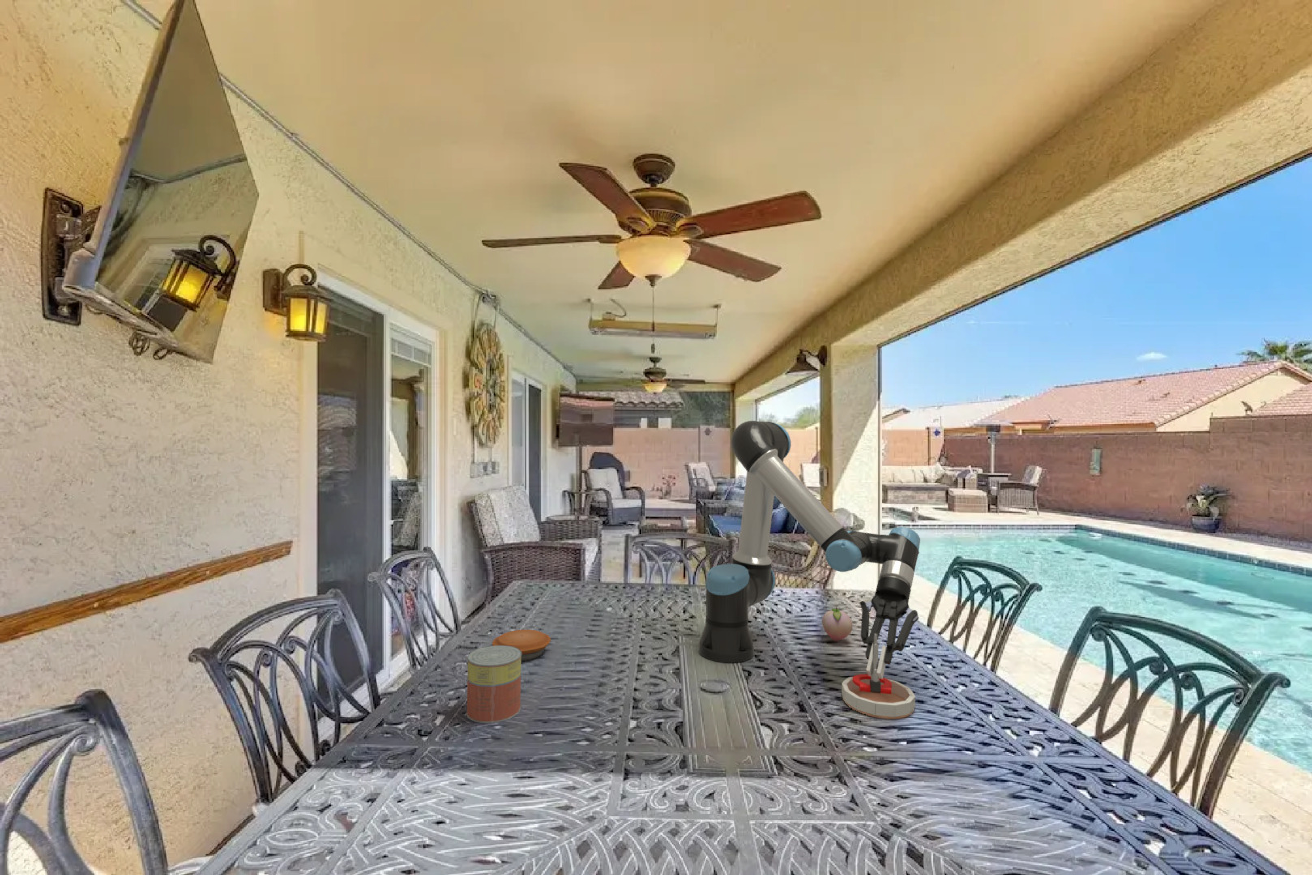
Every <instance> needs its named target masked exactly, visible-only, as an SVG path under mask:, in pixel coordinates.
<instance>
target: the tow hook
mask: <svg viewBox="0 0 1312 875" xmlns="http://www.w3.org/2000/svg"><path fill="white" fill-rule="evenodd" d="M878 664H879V643H878V640H877V633H874V642H873V668H872V669H871V676H869V675H868V673H861V674H860V673H859V674H855V675H853V676H852V677H853V683H854V684H855V685H857V686H859V690H860V691H865V692H871V693H879V694H880V693H884V694H891V692H892V691H891V688H892V683H891V681H889V680H888V679H889V678H886V677H884V676H883V679H880V678H879V677H878V674H877V669H878ZM864 679H870V685H869V684H866V683H863V682H861V681H860V680H864ZM881 682H882V683H883V685H881Z"/></svg>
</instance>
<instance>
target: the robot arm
mask: <svg viewBox="0 0 1312 875" xmlns="http://www.w3.org/2000/svg"><path fill="white" fill-rule="evenodd" d="M730 445H731V450H732V452H733V455H734V456H735V458H736V459H737V460H738V462H739V463H740V464H741V465H742V467H743V468H744V469H745V470H746V478H745V486H744V487H745V489H744V496H743V505H742V514H741V515H742V516H741V521H740V522H741V523H740V524H741V525H740V532H739V542H738V549H737V551H736V552H735V553H734V554H733V555H732V556H731V557H732V559H731V563H724V564H718V565H715V566H713V567H711V568H710V569H709V570H708V571H707V573H706V580H705V589H706V590H705V625H704V627H703V630H702V633H701V636H700V640H699V642H698V643H699V644H698V652H699V654H700V655H701V656H702V657H704V658H706V659H708V660H712V661H715V662H719V663H741V662H746V661H749V660H751V659H753V657H754V655H755V646H754V645H755V644H754V641H753V639H752V635H751V632H750V629H749V608H750V607H753V606H755V604H759V603H761V602H763V601H765V600H766V599H767V598H768V597H769V596H771V594H772V593H773V591H774V589H775V585H776V576H775V572H774V570H773V569H772V566H773V565H772V564H773V560H772V559H771V558H770V556H769V555H768V553H769V545H770V544H769V543H770V537H771V535H770V534H771V526H772V517H773V507H774V501H775V500H774V499H775V498H777V500H778V501H779V502H780V503H781V505H782V506H784V508H785V509H786V510H787V511H788V512H789V513H790V514H791V516H792V517H793V518H794V519H795V520H796V521H797V522H798V523H799V525H800V526H801V527H802V528H803V530H805V532H806V533H807V534H808V535H809V536H810V537H811V538H812V539H813V540H814V541H815V542H816V544H818V546H819V547H820V548H821V550H823V552H824V553H825V561H826V563H827V565H828V566H829V567H830V568H832V570H834V571H835V572H840V573H846V572H850V571H853V570H855V569H858V567H859V566H861V565H863V564H865V563H873V564H879V565H881V568H880V573H879V575H878V576H879V577H878V580H877V585H876V588H875V592H874V593H875V594H874V596H873V597H872V598H871V600H870V601H864V600H861V601H860V603H859V604H860V607H861V610H862V611H861V625H860V627H861V628H860V638H861V640H862V643H863V644H864V645H866V649H865V653H864V654H865V658H866V660H867V666H866V674H868V675H869V676H871V669H872V668H873V642H874V633H877V641H878V640H879V637H880V634H881V631H882V628H883V624H884V623H885V620H889V622H888V630H887V637H886V638H887V639H886V642H885V645H882V646H881V652H880V656H879V659H878V669H877V674H878V677H879V678H880V679H883V677H884V674H885V669H886V665H891V663H892V660H893V659H892V658H893V654H894V652H897V651H898V652H903V651H904V648H905V646H906V644H907V641H908V639H909V636H910V633H911V631H912V628H913V626H914V624H915V623H916V622H918V621H919V617H920V616H919V615H918V611H917V610H916V609H911V607H910V605H909V601H910V598H911V597H910V596H911V592H912V590H911V589H912V586H913V583H914V577H915V570H916V566H917V561H918V558H919V554H920V544H921V538H920V535H919V534H918V533H917V532H916V531H915V530H914V529H912V528H909V527H906V526H898V527H893V528H892V529H891V530H890V531H889V533H888V534H878V533H871V532H870V533H868V532H862V531H856V530H847V529H845V528H844V526H843V525H842V524H841V523H840V522H839V521H838V520H837V519H836V518H835V516H833V515H832V514H831V512H830V511H829V510H828V509H827V508H826V507H825V506H824V505H823V503H822V502H821V501H820V500H819V499H818V498H817V497H816V496H815V495H814V494H813V493H812V491H811V490H809V489H808V488H807V486H806V485H805V484H804V483H803V482H802V480H800V479H799V478H798V477H797V475H795V474H794V472H793V471H792V470H791V469H790V468H789V467H788V466H787V465H786V464H785V462H784V459H785V458H787V456H788V455H789V453H790V451H791V447H792V441H791V437H790V434H789V432H788V431H787V430H786V428H784V427H783V426H782V425H781V424H779V423H776V422H772V421H758V420H748V421H744V422H742V423H740V424H739V425H738V426H737V427H736V428H735V429H734V431H733V432H732V434H731V439H730ZM872 608H873V609H874V611H875V618H874V621H873V624H872V626H871V627H872V628H871V630H870V612H871V611H872ZM903 616H906V617H905V619H904V622H903V624H902V626H901V629H900V632H899V633H898V636H897V628H898V625H899V620H900V619H901V618H902V617H903ZM869 630H870V632H869ZM896 636H897V638H896Z"/></svg>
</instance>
